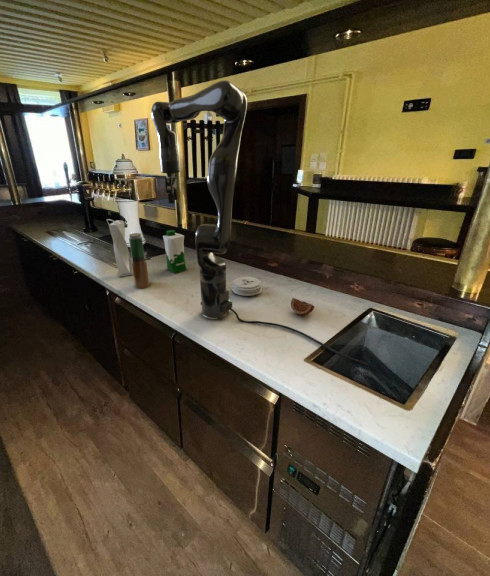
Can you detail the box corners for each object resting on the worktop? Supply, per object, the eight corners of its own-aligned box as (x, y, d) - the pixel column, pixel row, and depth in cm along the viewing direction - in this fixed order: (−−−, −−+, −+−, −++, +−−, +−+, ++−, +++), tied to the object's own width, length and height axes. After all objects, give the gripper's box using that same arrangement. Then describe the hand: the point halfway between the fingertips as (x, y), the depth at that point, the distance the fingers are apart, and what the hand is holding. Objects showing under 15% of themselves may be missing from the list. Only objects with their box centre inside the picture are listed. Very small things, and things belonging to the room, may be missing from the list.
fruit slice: (286, 311, 111) (287, 299, 109) (297, 305, 115) (299, 294, 113) (306, 320, 105) (307, 308, 103) (317, 314, 109) (318, 301, 106)
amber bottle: (152, 284, 139) (148, 254, 133) (142, 289, 134) (137, 258, 128) (142, 281, 142) (138, 252, 136) (132, 286, 138) (127, 256, 132)
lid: (238, 283, 136) (238, 273, 134) (265, 287, 131) (266, 276, 129) (227, 294, 126) (227, 284, 124) (256, 299, 121) (257, 288, 118)
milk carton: (178, 265, 160) (175, 228, 152) (188, 269, 154) (186, 231, 146) (164, 270, 155) (160, 231, 147) (175, 274, 149) (171, 234, 140)
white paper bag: (117, 277, 148) (106, 221, 137) (116, 272, 155) (106, 217, 144) (134, 274, 151) (125, 218, 139) (132, 269, 158) (124, 215, 146)
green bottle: (146, 254, 133) (144, 233, 129) (137, 258, 129) (134, 236, 125) (138, 252, 136) (135, 232, 132) (129, 256, 132) (125, 235, 128)
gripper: (163, 159, 127) (167, 199, 134) (156, 161, 114) (161, 204, 121) (181, 159, 127) (184, 198, 133) (176, 160, 114) (179, 204, 121)
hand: (173, 201), depth 127 cm, fingers open, 8 cm apart
